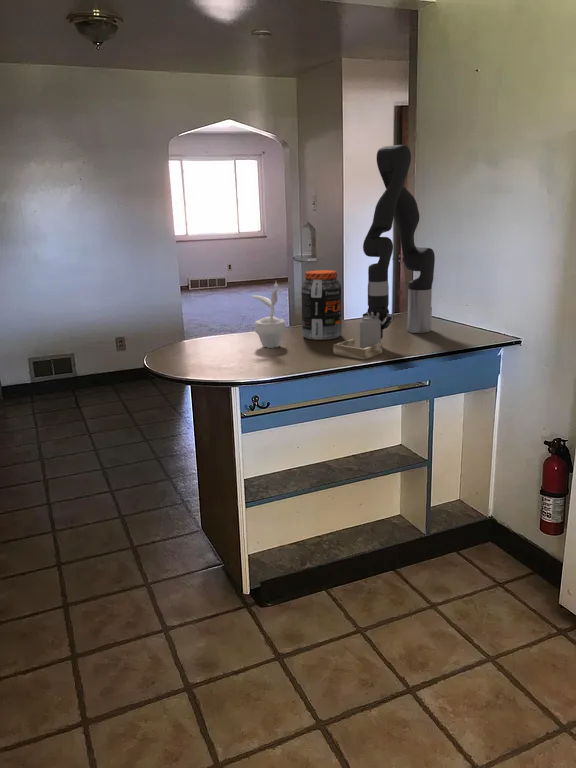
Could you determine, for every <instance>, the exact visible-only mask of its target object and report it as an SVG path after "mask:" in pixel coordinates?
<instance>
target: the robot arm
mask: <svg viewBox="0 0 576 768" xmlns="http://www.w3.org/2000/svg"><path fill="white" fill-rule="evenodd" d="M411 162H412V153H411V150H410V147H408V146H407V145H406V144H393V145H386V146H385V145H384V146H381V147H379V149H378V150H377V151H376V164H377V169H378V172H379V174H380V177H381V179H382V182H383V184H384V187H385V190H384V192H382V195H381V196H380V197H379V199H378V200H377V202H376V204H375V209H374V212H373V219H372V223H371V226H370V227H369V229H368V231H367V234H366V236H365V238H364V240H363V245H362V251H363V253H364V254H365V256H367V257H369V258H370V257H371V258H379V259H378V262H377V263H372V264H370V265H368V268H367V273H368V274H367V275H368V278H367V279H368V280H367V281H368V282H367V306H368V308H367V311H366V312H365V313H363V314H362V317H363V316H371V315H372V316H378V317H379V320H380V321H381V340H382V339H383V337H384V336H383V332H384V330H386V329H387V328H388V327H390V324H392V322H393V321H394V320H395V316H394V315H391V313H390V310H389V304H390V301H389V300H390V299H389V297H390V295H389V291H390V290H389V288H390V287H389V286H390V285H389V266H390V261H391V258H392V255H393V251H394V243H393V241H392V239H391V238H390V237H388V236H381V235H382V234H384V233H387V232H390V231H391V230H392V229H393V224H394V223H393V222H395V224H396V229H397V233H398V236H399V240H400V246H401V251H402V257H403V263H404V265H405V268H406V269H407V270H408V271H410V272H411V271H412V272H420V273H419V276H418V277H417V278H416V279H412V280H410V281H408V284H407V289H408V290H407V291H408V292H407V328H406V330H407V332H409V333H411V334H412V333H413V334H425V333H429V332H431V330H432V315H433V314H432V312H433V310H432V309H433V308H432V298H433V297H432V293H433V292H432V291H433V282H434V274H435V265H436V262H435V261H436V260H435V258H436V256H435V252H434V250H433V249H432V248H431V247H417V246H416V244H415V241H414V236H415V235H414V234H415V231H416V230H417V228H418V225H419V223H420V217H421V216H420V212H419V207H418V204H417V201H416V199H415V197H414V196H413V194H412V193H411V192H410V191H409V190H408V189H407V188H406V187H405V185H404V184H405V181H406V178H407V175H408V172H409V169H410V165H411Z"/></svg>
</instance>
